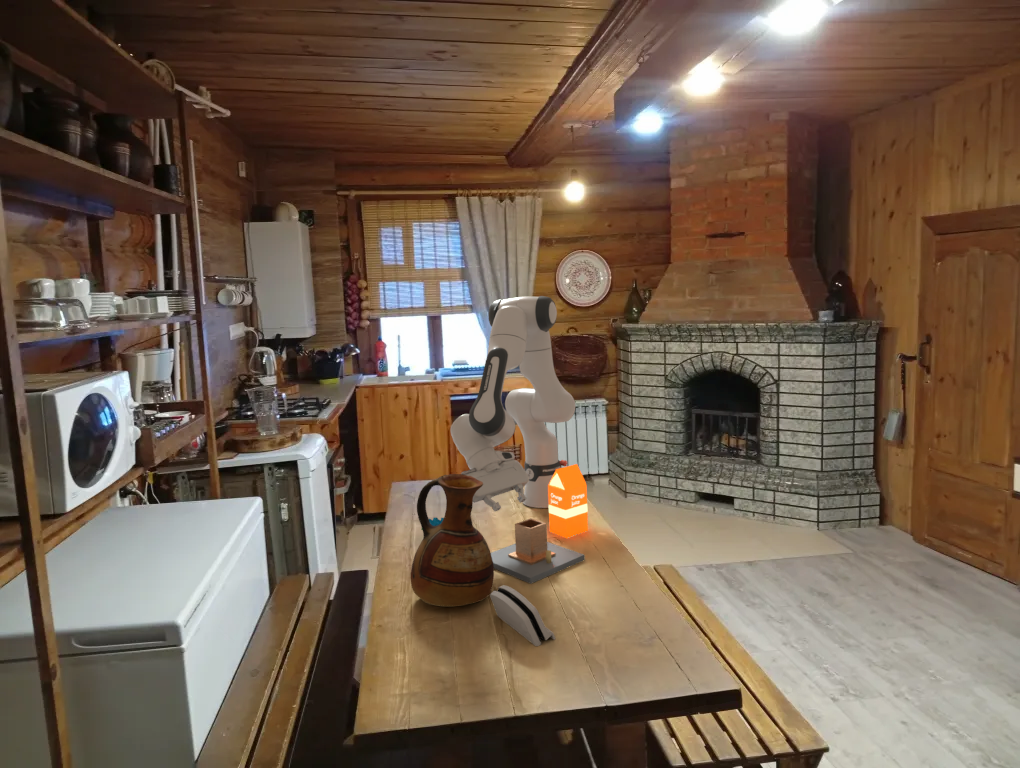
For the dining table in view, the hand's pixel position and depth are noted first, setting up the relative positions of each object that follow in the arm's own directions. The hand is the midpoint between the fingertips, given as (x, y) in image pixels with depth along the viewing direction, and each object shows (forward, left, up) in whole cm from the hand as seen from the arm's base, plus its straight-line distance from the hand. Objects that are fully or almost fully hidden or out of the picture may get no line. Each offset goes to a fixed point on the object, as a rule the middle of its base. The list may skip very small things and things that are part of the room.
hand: (510, 505), depth 191 cm
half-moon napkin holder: (+28, +33, -14) cm, 45 cm away
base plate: (0, +8, -14) cm, 16 cm away
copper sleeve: (0, +8, -12) cm, 15 cm away
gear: (+7, -25, -14) cm, 30 cm away
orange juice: (-23, 0, -14) cm, 27 cm away
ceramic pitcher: (+28, +10, -14) cm, 33 cm away
